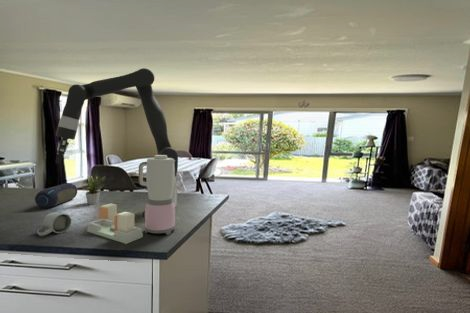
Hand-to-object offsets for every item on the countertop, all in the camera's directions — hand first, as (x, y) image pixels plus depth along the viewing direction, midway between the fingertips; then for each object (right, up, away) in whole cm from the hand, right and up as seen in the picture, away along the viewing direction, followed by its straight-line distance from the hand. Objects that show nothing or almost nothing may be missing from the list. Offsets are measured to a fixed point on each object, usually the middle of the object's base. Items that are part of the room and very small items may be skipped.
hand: (58, 162), depth 122 cm
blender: (+47, -29, -8) cm, 55 cm away
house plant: (+1, -24, +31) cm, 40 cm away
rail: (+31, -29, -13) cm, 45 cm away
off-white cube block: (+23, -27, 0) cm, 36 cm away
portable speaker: (-19, -24, +29) cm, 42 cm away
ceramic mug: (+7, -28, -13) cm, 32 cm away
